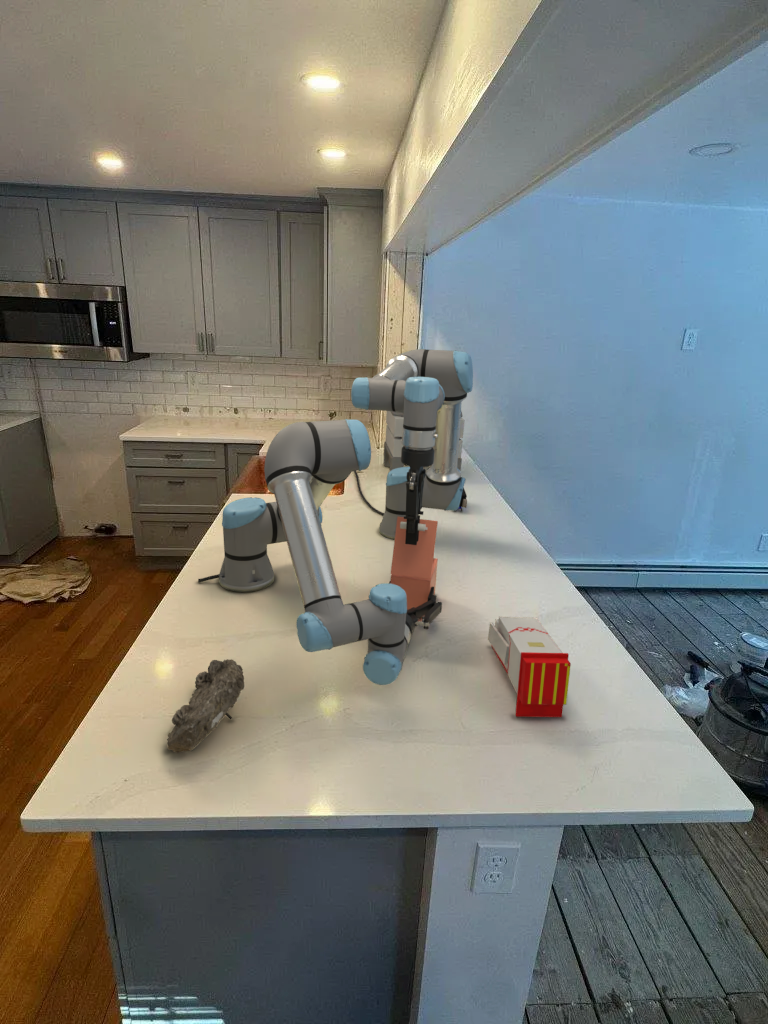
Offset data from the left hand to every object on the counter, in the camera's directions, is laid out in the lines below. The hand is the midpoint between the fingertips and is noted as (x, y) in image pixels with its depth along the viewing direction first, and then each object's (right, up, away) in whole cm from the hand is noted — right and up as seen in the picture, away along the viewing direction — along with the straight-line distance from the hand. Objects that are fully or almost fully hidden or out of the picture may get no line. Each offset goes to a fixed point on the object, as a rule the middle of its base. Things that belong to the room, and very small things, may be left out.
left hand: (411, 588), depth 147 cm
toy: (+23, -16, -22) cm, 36 cm away
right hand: (0, +13, -10) cm, 16 cm away
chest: (0, -5, +6) cm, 8 cm away
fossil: (-40, -19, -39) cm, 59 cm away
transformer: (+10, +39, +128) cm, 134 cm away
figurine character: (+22, +22, +82) cm, 88 cm away
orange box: (0, +11, -4) cm, 11 cm away
